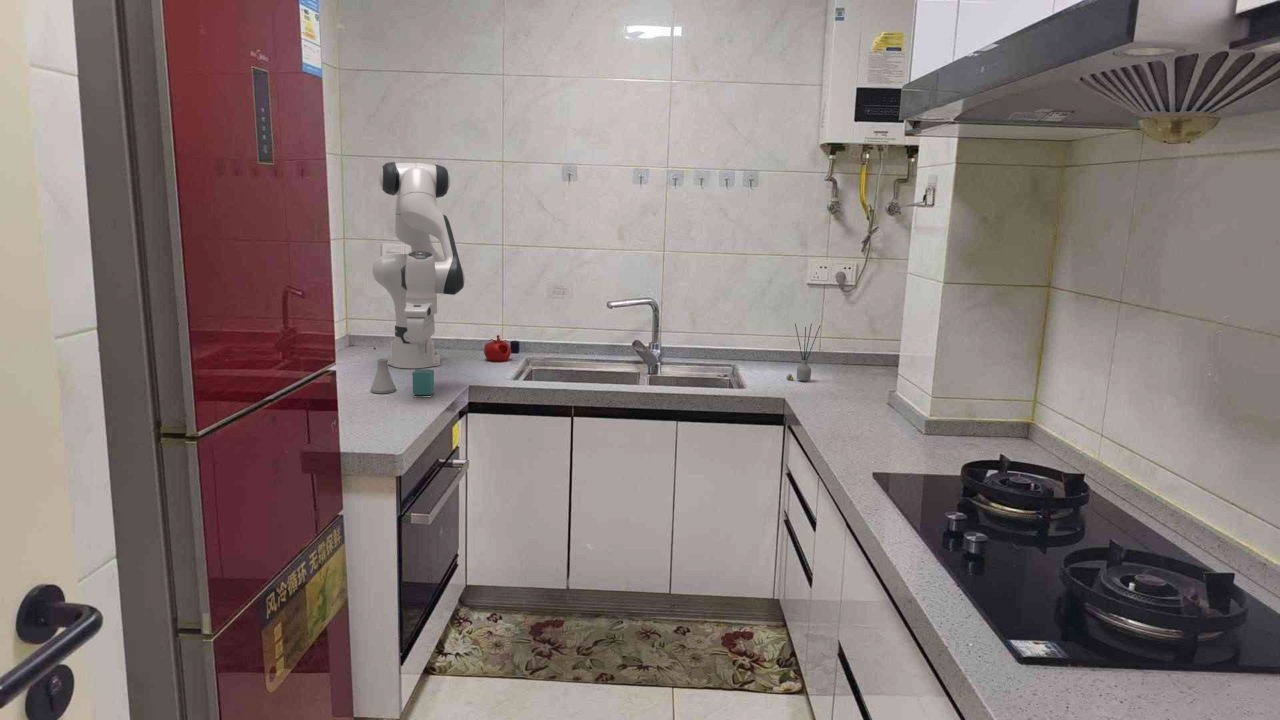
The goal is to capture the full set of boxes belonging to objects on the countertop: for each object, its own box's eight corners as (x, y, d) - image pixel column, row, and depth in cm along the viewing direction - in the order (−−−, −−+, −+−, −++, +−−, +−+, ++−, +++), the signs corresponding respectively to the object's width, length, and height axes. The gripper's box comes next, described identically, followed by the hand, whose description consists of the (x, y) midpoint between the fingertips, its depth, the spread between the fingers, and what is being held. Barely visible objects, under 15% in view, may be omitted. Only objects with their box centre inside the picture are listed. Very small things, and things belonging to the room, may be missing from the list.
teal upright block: (416, 390, 251) (416, 369, 250) (434, 390, 251) (433, 369, 250) (412, 394, 246) (412, 372, 245) (430, 394, 246) (430, 373, 245)
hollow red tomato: (479, 361, 303) (479, 336, 301) (490, 357, 312) (490, 332, 311) (505, 363, 301) (504, 338, 299) (515, 358, 310) (515, 334, 308)
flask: (365, 392, 251) (364, 359, 249) (383, 387, 257) (382, 356, 256) (383, 395, 248) (382, 362, 246) (401, 390, 254) (400, 358, 252)
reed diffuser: (816, 380, 285) (820, 322, 281) (817, 384, 278) (821, 325, 275) (786, 378, 287) (789, 321, 283) (786, 382, 280) (789, 323, 276)
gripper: (418, 303, 254) (419, 348, 256) (402, 311, 234) (404, 360, 236) (439, 303, 254) (440, 348, 257) (425, 312, 234) (426, 360, 237)
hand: (422, 354), depth 246 cm, fingers closed
